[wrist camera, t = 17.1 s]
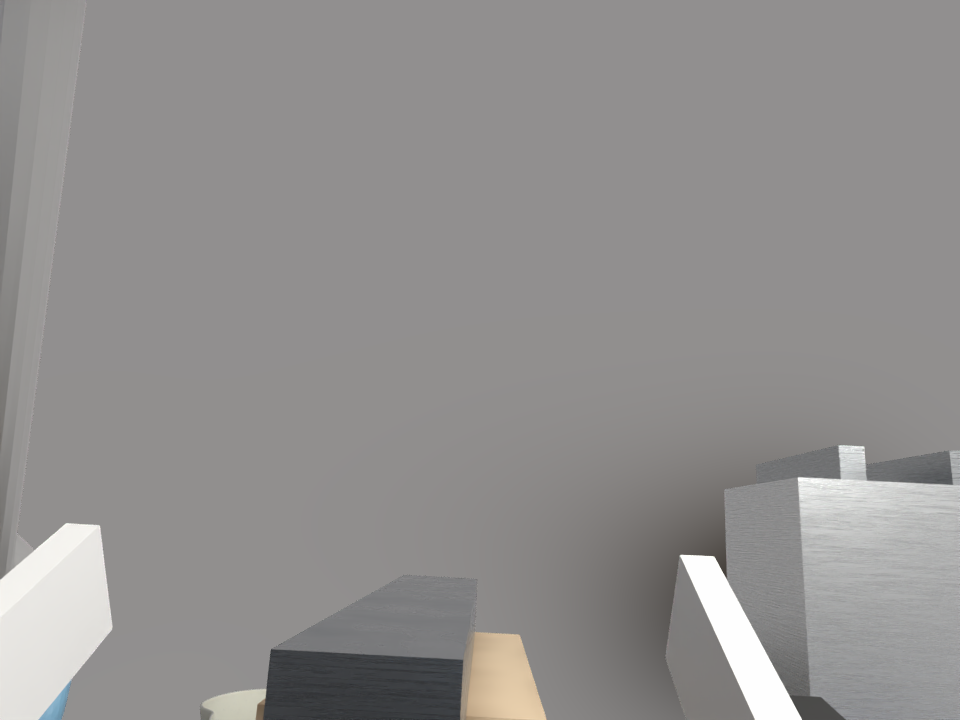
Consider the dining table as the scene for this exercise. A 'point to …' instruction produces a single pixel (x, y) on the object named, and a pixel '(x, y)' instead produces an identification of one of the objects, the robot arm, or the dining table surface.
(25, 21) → the robot arm
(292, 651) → the bar
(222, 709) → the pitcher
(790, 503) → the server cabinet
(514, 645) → the oak side stand
